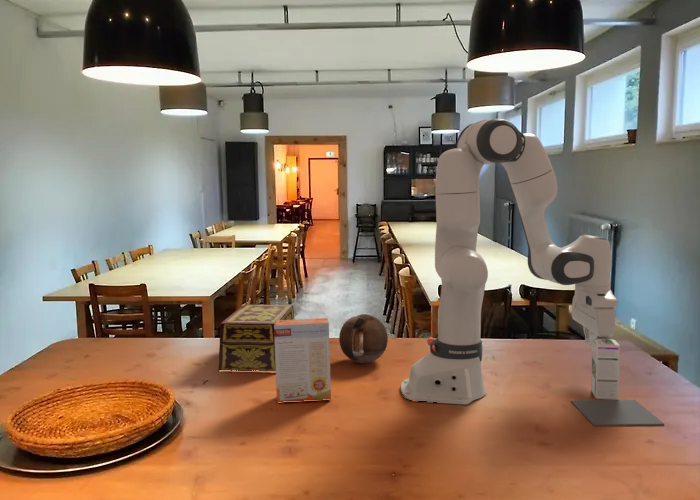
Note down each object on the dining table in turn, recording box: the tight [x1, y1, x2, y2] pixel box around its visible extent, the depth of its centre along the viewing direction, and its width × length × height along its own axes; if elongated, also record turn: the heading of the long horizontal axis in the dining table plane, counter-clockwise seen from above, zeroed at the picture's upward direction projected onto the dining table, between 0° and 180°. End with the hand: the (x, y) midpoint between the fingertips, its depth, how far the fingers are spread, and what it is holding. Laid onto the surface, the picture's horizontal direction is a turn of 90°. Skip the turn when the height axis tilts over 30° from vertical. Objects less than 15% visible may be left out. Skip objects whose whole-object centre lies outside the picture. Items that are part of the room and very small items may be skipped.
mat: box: [570, 399, 665, 427], centre depth 138 cm, size 16×14×1 cm
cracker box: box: [274, 317, 332, 403], centre depth 148 cm, size 14×6×21 cm, turn 94°
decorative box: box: [218, 303, 295, 371], centre depth 183 cm, size 28×19×15 cm
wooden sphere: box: [338, 313, 389, 364], centre depth 177 cm, size 15×15×15 cm
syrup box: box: [590, 337, 621, 400], centre depth 148 cm, size 6×6×14 cm
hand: (590, 343), depth 157 cm, fingers closed
